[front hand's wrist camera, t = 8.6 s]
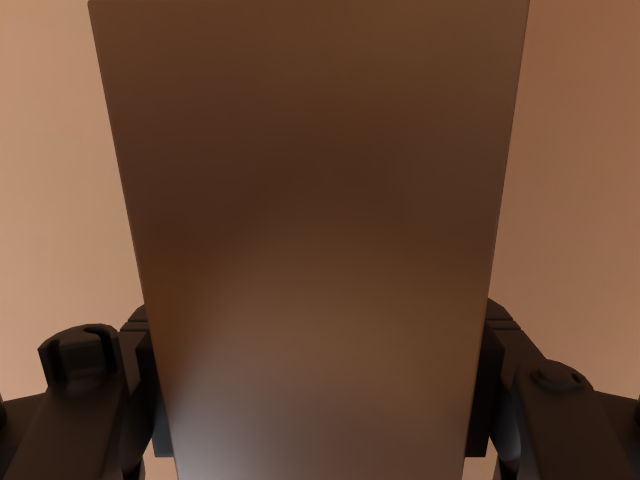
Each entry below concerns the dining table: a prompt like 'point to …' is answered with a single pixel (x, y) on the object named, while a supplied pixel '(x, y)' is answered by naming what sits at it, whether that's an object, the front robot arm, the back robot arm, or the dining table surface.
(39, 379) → the dining table surface
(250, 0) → the beam
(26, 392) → the dining table surface
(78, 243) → the dining table surface
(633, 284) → the dining table surface
